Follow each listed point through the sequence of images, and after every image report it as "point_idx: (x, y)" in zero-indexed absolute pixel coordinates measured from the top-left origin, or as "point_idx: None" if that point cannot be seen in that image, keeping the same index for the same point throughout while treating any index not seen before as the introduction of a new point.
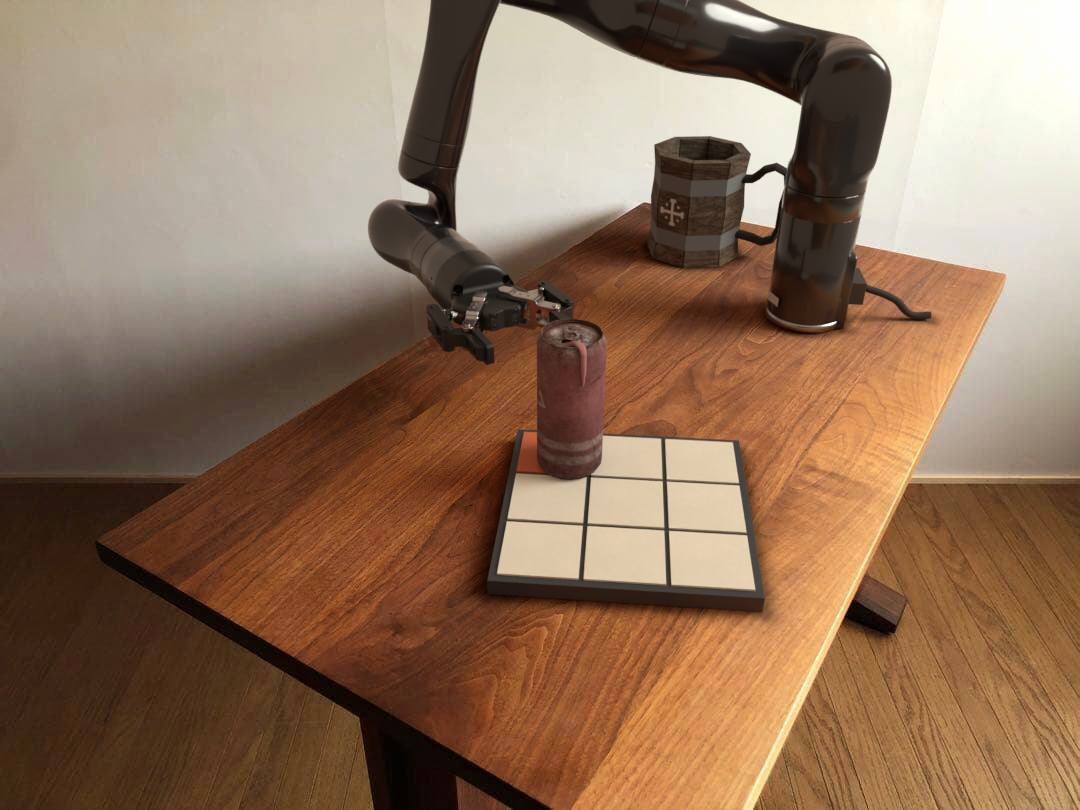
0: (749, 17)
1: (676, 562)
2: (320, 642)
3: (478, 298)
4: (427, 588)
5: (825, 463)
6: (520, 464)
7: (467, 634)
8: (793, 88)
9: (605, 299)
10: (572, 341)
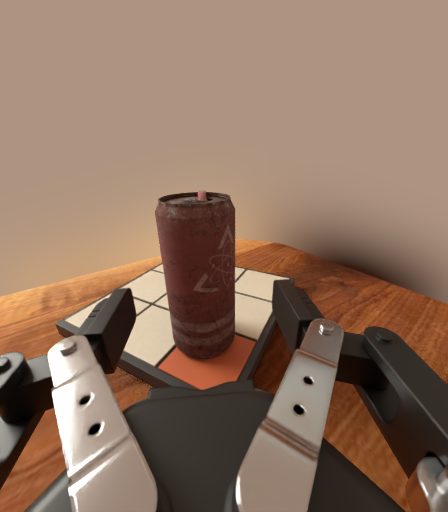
0: None
1: None
2: (383, 286)
3: (289, 438)
4: (329, 296)
5: (31, 309)
6: (249, 348)
7: (305, 276)
8: None
9: None
10: (203, 195)
